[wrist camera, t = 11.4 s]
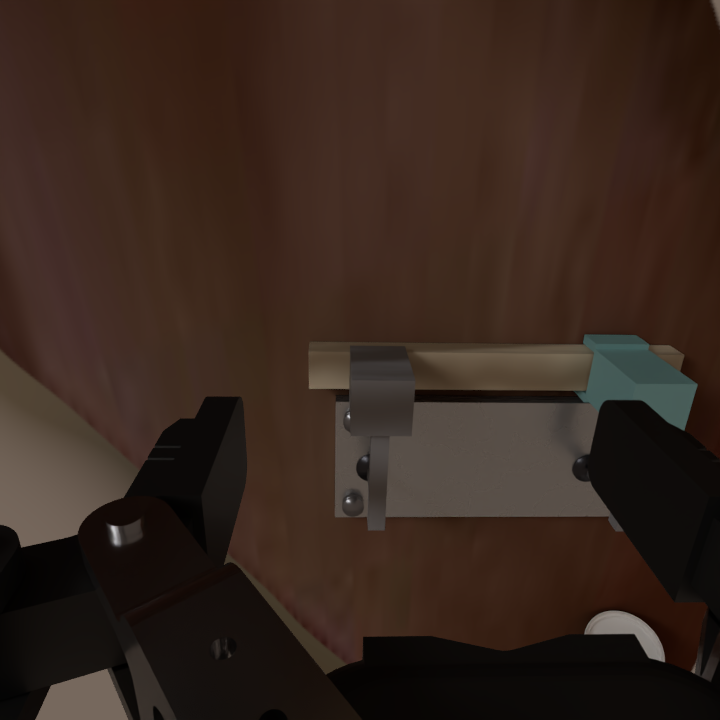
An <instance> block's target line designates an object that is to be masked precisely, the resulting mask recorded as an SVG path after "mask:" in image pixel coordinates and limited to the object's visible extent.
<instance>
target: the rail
mask: <svg viewBox="0 0 720 720" xmlns="http://www.w3.org/2000/svg"><path fill="white" fill-rule="evenodd" d="M648 350H650V351H651V352H652V353H654V354H655V355H657V356H658V357H660V358H661V359H662V360H664V361H665V362H667V363H668V364H670V365H671V366H672V367H674V368H675V369H677V370H678V371H680V370H681V366H682V362H683V359H684V355H683V354H682V353H680V352H679V351H677V350H676V349H674V348H673V347H671V346H670V345H649V348H648ZM593 356H594V352H593V351H592V350H590V349H589V348H588V347H587V346H586V345H577V344H482V343H387V342H310V345H309V389H349V405H350V434H351V436H370V458H369V469H368V470H367V480H368V513H367V522H368V530H385V516H386V497H387V478H388V459H389V440H390V436H412V425H413V411H414V396H415V389H420V390H562V391H586V390H587V386H588V381H589V376H590V371H591V366H592V361H593Z"/></svg>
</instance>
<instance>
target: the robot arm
mask: <svg viewBox="0 0 720 720" xmlns="http://www.w3.org/2000/svg"><path fill="white" fill-rule="evenodd" d="M719 460H720V459H719V458H717V457H716V456H715V455H714V454H713V453H712V452H710V451H706V447H705V446H703V445H702V444H701V443H700V442H699V441H698V440H697V439H695V438H694V437H693V436H692V435H691V434H689V433H687V432H685V431H684V430H682V429H680V428H678V427H676V426H674V425H672V424H670V423H668V422H667V421H666V420H665V419H664V418H662V417H661V416H660V415H659V414H658V413H657V412H656V411H654V410H653V409H652V408H651V407H650V406H649V405H648V404H647V403H645V402H644V401H642V400H606V401H604V402H603V403H602V405H601V407H600V410H599V414H598V418H597V423H596V427H595V432H594V436H593V441H592V446H591V450H590V455H589V459H588V474H589V479H590V482H591V485H592V487H593V488H594V490H595V491H596V493H597V494H598V496H599V497H600V498H601V500H602V501H603V503H604V504H605V505H606V507H607V508H608V510H609V511H610V512H611V514H612V515H613V517H614V518H615V519H616V521H617V522H618V524H619V525H620V526H621V528H622V529H623V531H624V532H625V533H626V535H627V536H628V538H629V539H630V540H631V542H632V543H633V545H634V546H635V548H636V549H637V550H638V552H639V553H640V555H641V556H642V557H643V559H644V560H645V562H646V563H647V564H648V566H649V567H650V569H651V570H652V571H653V573H654V574H655V576H656V577H657V578H658V580H659V581H660V583H661V584H662V585H663V587H664V588H665V590H666V591H667V592H668V594H669V595H670V597H671V598H672V599H673V601H674V602H705V603H706V605H707V606H708V608H707V611H706V613H705V616H704V619H703V622H702V628H701V635H700V641H699V648H698V655H697V662H696V669H695V674H694V673H692V672H690V671H687V670H685V669H682V668H680V667H677V666H675V665H672V664H669V663H665V662H662V661H659V660H656V659H651V658H649V657H648V656H647V654H646V652H645V651H644V649H643V647H642V646H641V644H640V642H639V640H638V639H637V637H636V635H635V634H572V635H565V636H562V637H558V638H554V639H551V640H547V641H543V642H540V643H536V644H532V645H529V646H525V647H522V648H518V649H514V650H510V651H500V650H494V649H490V648H485V647H480V646H475V645H471V644H466V643H461V642H456V641H452V640H447V639H442V638H437V637H433V636H399V637H363V657H362V660H361V661H358V662H354V663H350V664H348V665H345V666H343V667H341V668H338V669H336V670H334V671H332V672H330V673H328V674H327V675H326V674H325V673H324V672H323V670H322V669H321V668H320V667H319V666H318V664H317V663H316V662H315V661H314V659H313V658H312V657H311V656H310V655H309V653H308V652H307V651H306V649H305V648H304V647H303V646H302V645H301V643H300V642H299V641H298V640H297V639H296V637H295V636H294V635H293V633H292V632H291V631H290V630H289V628H288V627H287V626H286V625H285V624H284V622H283V621H282V620H281V619H280V617H279V616H278V615H277V614H276V613H275V611H274V610H273V609H272V607H271V606H270V605H269V604H268V603H267V601H266V600H265V599H264V598H263V596H262V595H261V594H260V593H259V591H258V590H257V589H256V588H255V586H254V585H253V584H252V583H251V581H250V580H249V579H248V578H247V577H246V575H245V574H244V573H243V572H242V570H241V569H240V568H239V567H238V566H237V565H235V564H234V563H231V562H230V563H227V564H225V565H224V562H225V558H226V555H227V551H228V547H229V544H230V540H231V536H232V533H233V529H234V525H235V521H236V518H237V514H238V510H239V507H240V503H241V499H242V495H243V492H244V488H245V483H246V474H247V453H246V438H245V423H244V408H243V401H242V398H241V397H206V398H205V399H204V401H203V403H202V405H201V407H200V409H199V411H198V413H197V415H196V417H195V419H179V420H178V421H177V422H175V423H174V424H172V425H171V426H170V427H168V428H167V429H165V430H164V431H163V432H162V434H161V436H160V437H159V439H158V441H157V443H156V444H155V448H153V449H152V451H151V453H150V454H149V456H148V460H146V461H145V463H144V464H143V466H142V468H141V469H140V471H139V473H138V475H137V476H136V478H135V480H134V481H133V483H132V485H131V486H130V488H129V490H128V492H127V493H126V495H125V496H124V498H121V499H118V500H115V501H112V502H110V503H107V504H105V505H103V506H101V507H99V508H98V509H96V510H95V511H93V512H92V513H91V514H90V515H89V516H87V518H86V519H85V520H84V521H83V523H82V524H81V526H80V528H79V531H78V534H77V535H74V536H72V537H68V538H64V539H59V540H55V541H50V542H46V543H41V544H36V545H32V546H27V547H22V548H21V545H20V542H19V538H18V535H17V533H16V532H15V531H14V530H13V529H11V528H9V527H7V526H4V525H0V720H35V719H36V717H37V715H38V713H39V710H40V708H41V706H42V704H43V701H44V699H45V697H46V695H47V693H48V691H49V689H50V686H51V685H53V684H57V683H61V682H64V681H67V680H71V679H74V678H77V677H80V676H84V675H87V674H90V673H94V672H97V671H101V670H104V669H108V672H109V674H110V676H111V679H112V681H113V684H114V686H115V688H116V691H117V693H118V696H119V698H120V700H121V703H122V705H123V708H124V710H125V712H126V715H127V717H128V720H720V461H719Z"/></svg>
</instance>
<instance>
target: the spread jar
mask: <svg viewBox="0 0 720 720" xmlns="http://www.w3.org/2000/svg"><path fill="white" fill-rule="evenodd" d="M584 634H635V635H636V637H637V639H638V640H639V642H640V644H641V646H642V647H643V649H644V651H645V652H646V654H647V656H648V657H649V658H651V659H656V660H659V661H662V662H665V655H664V650H663V647H662V644H661V642H660V640H659V638H658V636H657V635H656V634H655V632H654V631H653V630H652V629H651V628H650V627H649V626H648V624H646V623H645V622H644V621H642V620H641V619H640V618H638V617H636V616H634V615H632V614H629V613H626V612H622V611H606V612H602V613H600V614H598V615H596V616H595V617H594V618H592V619H591V621H590V622H589V623H588V625H587V627H586V629H585V633H584Z"/></svg>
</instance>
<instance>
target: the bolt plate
mask: <svg viewBox="0 0 720 720" xmlns="http://www.w3.org/2000/svg"><path fill="white" fill-rule="evenodd" d="M598 414H599V412H598V411H597V410H596V409H595V408H594V407H593V406H592V405H591V404H590V403H589V402H583V401H582V400H581V398H580V397H570V396H418V395H415V396H414V411H413V425H412V436H390V440H389V459H388V478H387V497H386V516H385V517H572V516H609V515H610V511H609V510H608V508H607V507H606V505H605V504H604V503H603V501H602V500H601V498H600V497H599V496H598V494H597V493H596V491H595V490H594V488H593V487H592V485H591V482H590V479H589V478H588V476H587V472H588V459H589V455H590V450H591V446H592V441H593V436H594V432H595V427H596V423H597V418H598ZM369 458H370V436H351V434H350V405H349V395H336V447H335V517H367V513H368V480H367V470H368V469H369Z"/></svg>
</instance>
